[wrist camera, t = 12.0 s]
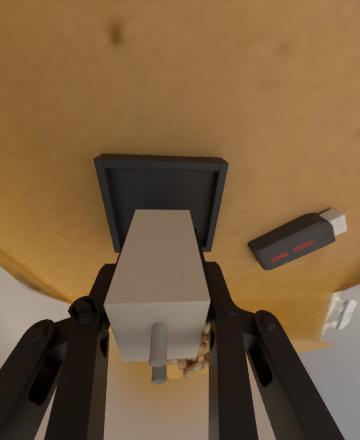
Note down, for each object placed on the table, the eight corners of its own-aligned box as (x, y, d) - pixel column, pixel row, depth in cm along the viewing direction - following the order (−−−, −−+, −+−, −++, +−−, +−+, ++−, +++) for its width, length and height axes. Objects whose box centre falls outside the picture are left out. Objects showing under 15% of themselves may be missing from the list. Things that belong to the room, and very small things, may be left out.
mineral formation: (232, 332, 41) (179, 352, 43) (210, 298, 36) (152, 322, 38) (245, 372, 34) (181, 393, 36) (220, 336, 29) (148, 363, 31)
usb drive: (247, 243, 25) (255, 256, 23) (330, 201, 22) (350, 211, 20) (258, 262, 28) (266, 275, 25) (334, 227, 24) (352, 238, 22)
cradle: (119, 240, 23) (114, 252, 21) (102, 153, 17) (93, 158, 15) (207, 239, 24) (210, 251, 22) (221, 157, 18) (228, 163, 16)
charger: (141, 261, 16) (117, 396, 9) (135, 209, 13) (88, 347, 5) (184, 260, 17) (200, 390, 9) (189, 209, 14) (220, 340, 6)
